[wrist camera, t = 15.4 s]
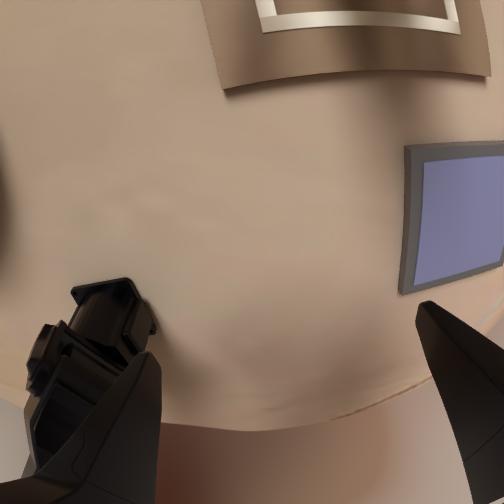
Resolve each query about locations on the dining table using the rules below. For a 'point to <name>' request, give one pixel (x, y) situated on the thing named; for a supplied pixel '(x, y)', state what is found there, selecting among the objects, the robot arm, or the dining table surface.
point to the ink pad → (451, 213)
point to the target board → (343, 37)
